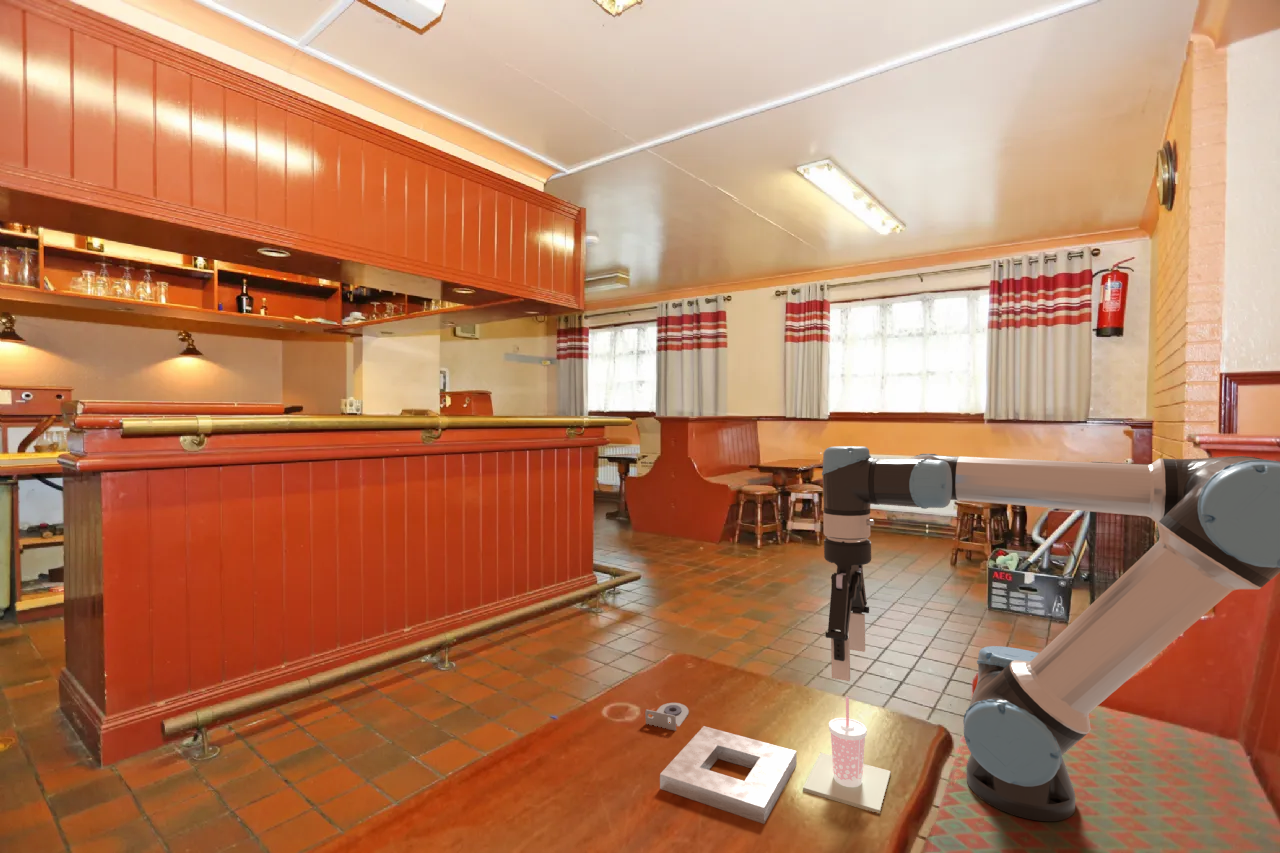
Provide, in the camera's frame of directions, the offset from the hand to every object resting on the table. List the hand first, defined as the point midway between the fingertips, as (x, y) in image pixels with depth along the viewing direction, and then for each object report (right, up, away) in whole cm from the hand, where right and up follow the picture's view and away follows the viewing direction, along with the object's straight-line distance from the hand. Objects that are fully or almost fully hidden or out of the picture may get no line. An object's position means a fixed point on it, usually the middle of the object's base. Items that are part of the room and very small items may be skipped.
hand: (849, 663), depth 102 cm
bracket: (-30, -21, +23) cm, 43 cm away
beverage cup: (0, -20, 0) cm, 20 cm away
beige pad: (0, -20, 0) cm, 20 cm away
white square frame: (-20, -21, +3) cm, 29 cm away
